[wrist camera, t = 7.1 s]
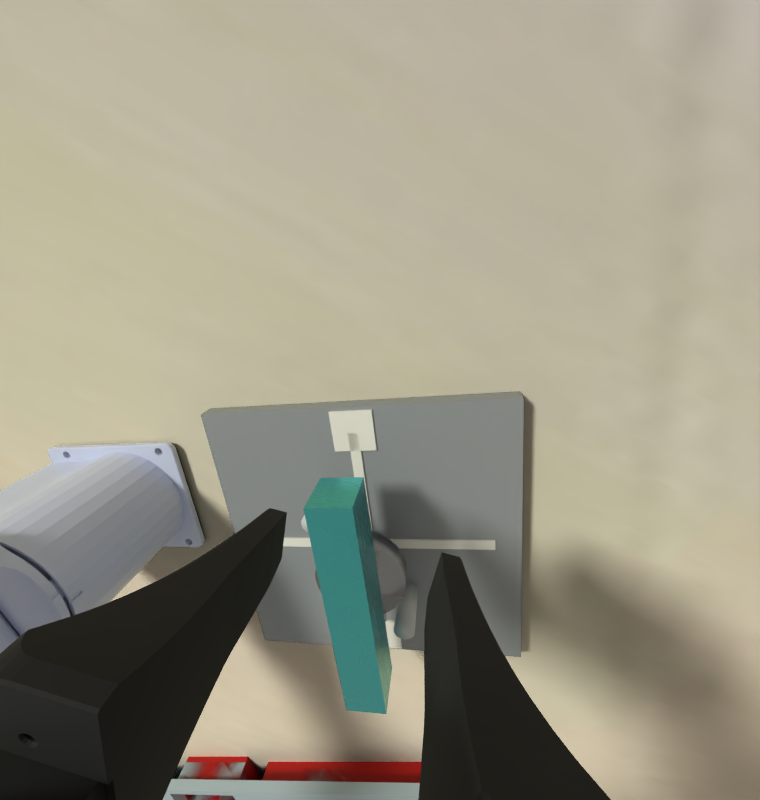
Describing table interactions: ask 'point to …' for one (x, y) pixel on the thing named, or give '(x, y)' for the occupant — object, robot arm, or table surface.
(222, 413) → the lock board
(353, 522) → the teal rectangular block
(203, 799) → the maze game
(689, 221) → the table surface
